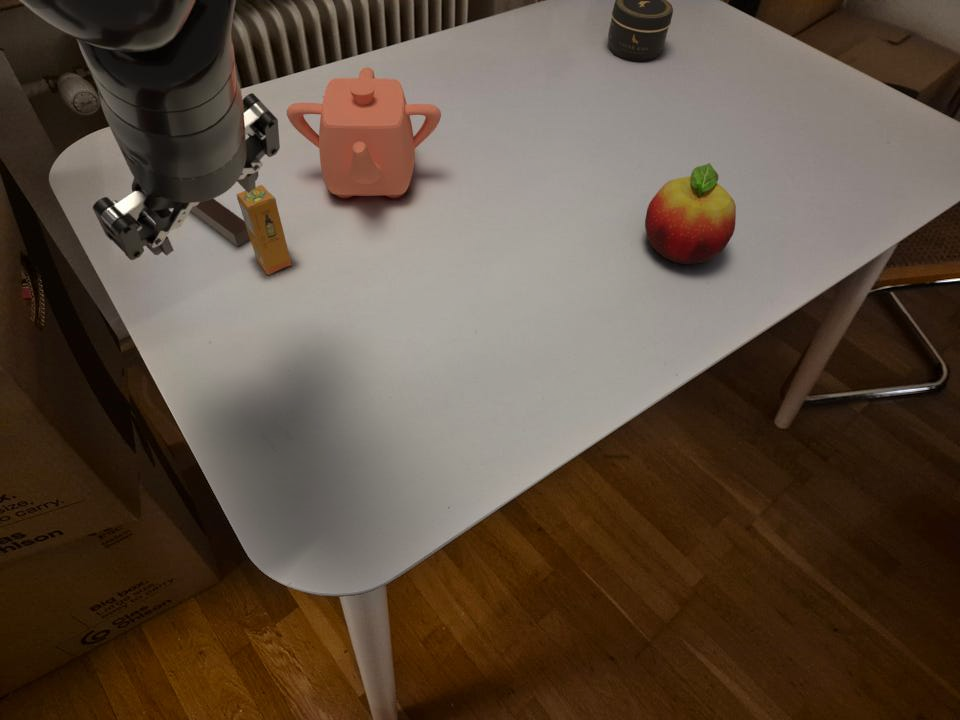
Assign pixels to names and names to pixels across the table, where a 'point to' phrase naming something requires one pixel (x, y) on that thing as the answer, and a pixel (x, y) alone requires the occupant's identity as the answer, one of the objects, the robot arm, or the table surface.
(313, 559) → the table surface
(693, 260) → the fruit
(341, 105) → the teapot
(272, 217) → the supplement box
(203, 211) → the walnut stick
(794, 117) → the table surface
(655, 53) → the jar
